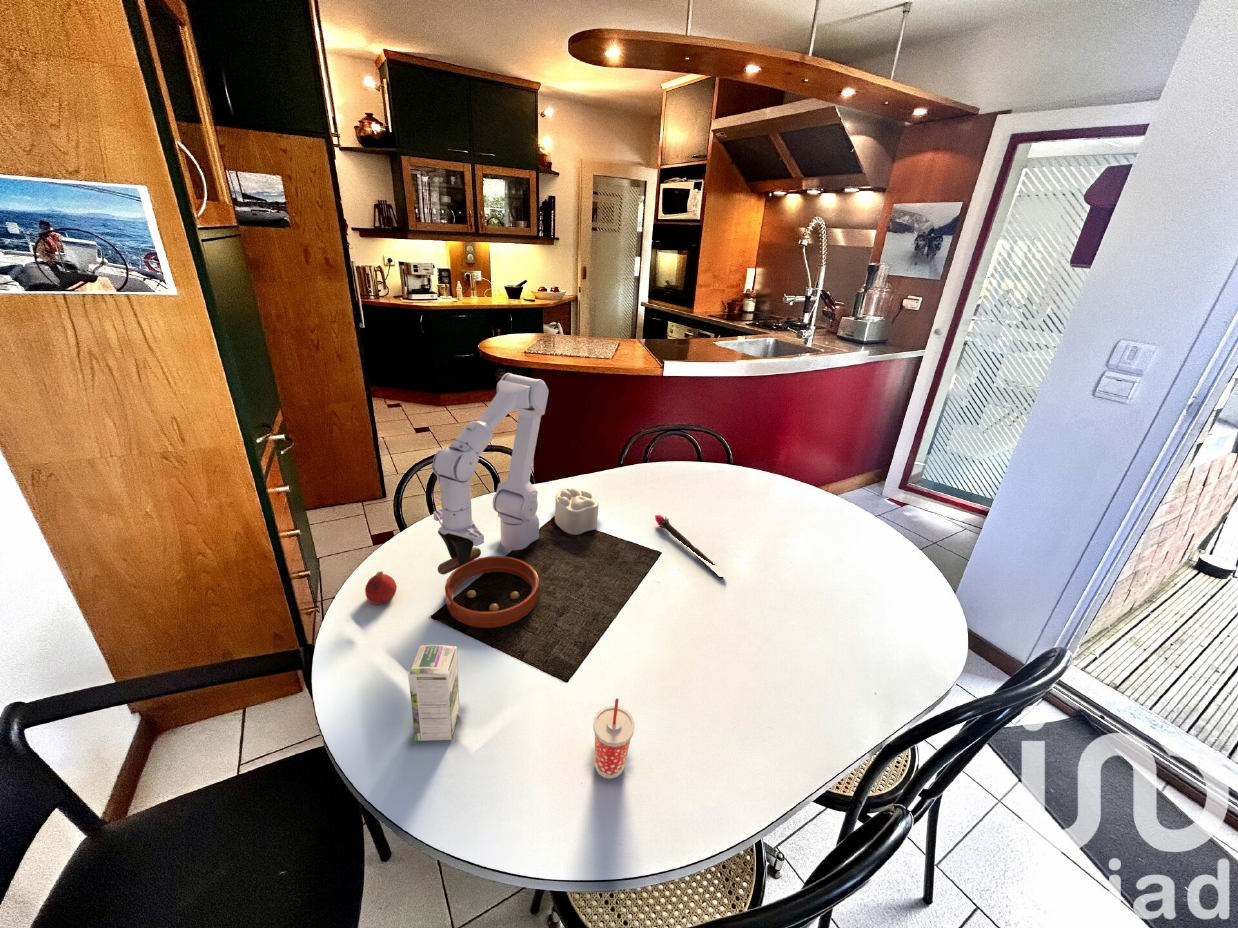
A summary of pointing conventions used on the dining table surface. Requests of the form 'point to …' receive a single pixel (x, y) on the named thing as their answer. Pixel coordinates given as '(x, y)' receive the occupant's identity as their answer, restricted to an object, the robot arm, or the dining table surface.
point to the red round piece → (380, 588)
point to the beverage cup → (612, 739)
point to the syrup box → (434, 692)
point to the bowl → (488, 566)
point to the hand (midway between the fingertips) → (460, 559)
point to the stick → (454, 563)
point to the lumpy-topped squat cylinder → (576, 511)
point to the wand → (679, 536)
